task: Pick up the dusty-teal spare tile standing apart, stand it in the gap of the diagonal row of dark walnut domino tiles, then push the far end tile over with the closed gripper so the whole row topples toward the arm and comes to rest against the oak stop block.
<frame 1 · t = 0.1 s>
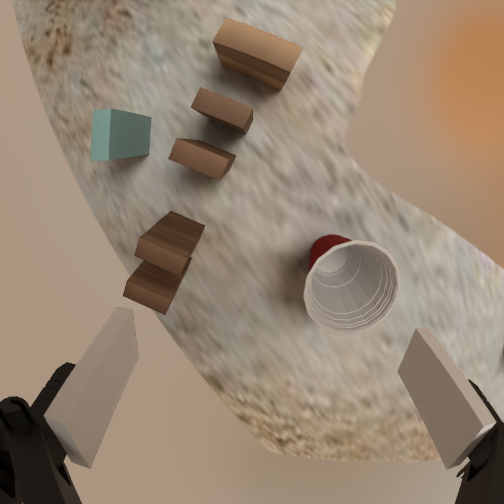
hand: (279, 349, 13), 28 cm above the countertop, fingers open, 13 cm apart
domino 4: (185, 224, 40), on the countertop
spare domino: (142, 136, 36), on the countertop
domino 2: (214, 154, 37), on the countertop
stop block: (256, 68, 33), on the countertop
plastic cup: (329, 252, 41), on the countertop
domino 1: (231, 119, 35), on the countertop
domino 5: (172, 256, 41), on the countertop
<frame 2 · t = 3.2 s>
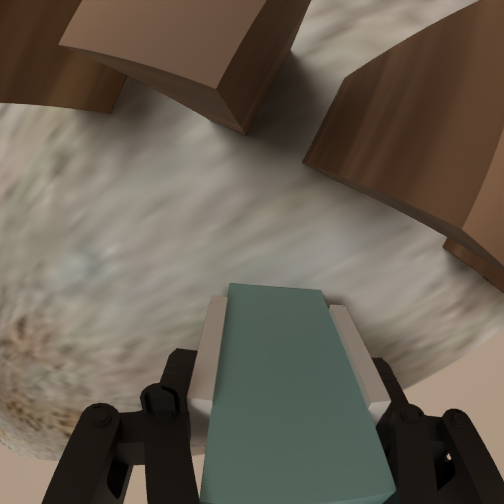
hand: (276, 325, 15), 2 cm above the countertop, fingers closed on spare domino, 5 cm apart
domino 4: (469, 219, 15), on the countertop
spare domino: (273, 303, 17), on the countertop, touching gripper
domino 2: (341, 128, 14), on the countertop
stop block: (119, 40, 12), on the countertop
domino 1: (249, 82, 13), on the countertop
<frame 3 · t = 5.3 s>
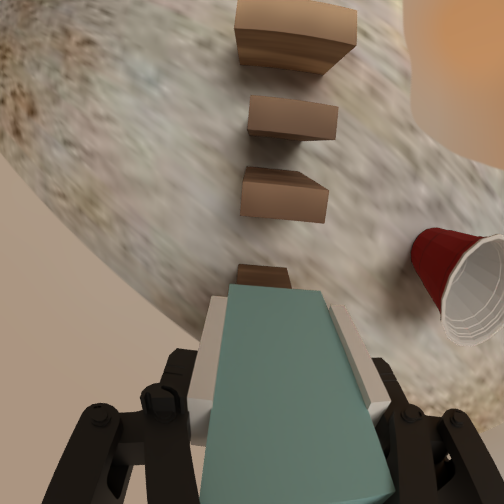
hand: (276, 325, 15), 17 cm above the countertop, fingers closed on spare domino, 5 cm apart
domino 4: (261, 274, 32), on the countertop
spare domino: (273, 303, 17), point 14 cm above the countertop, touching gripper
domino 2: (271, 179, 29), on the countertop
stop block: (283, 55, 24), on the countertop
plastic cup: (428, 248, 31), on the countertop
domino 1: (276, 127, 27), on the countertop
when the fingers open (3 cm above the countertop, at t = 7.5 s): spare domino stays where it is, on the countertop.
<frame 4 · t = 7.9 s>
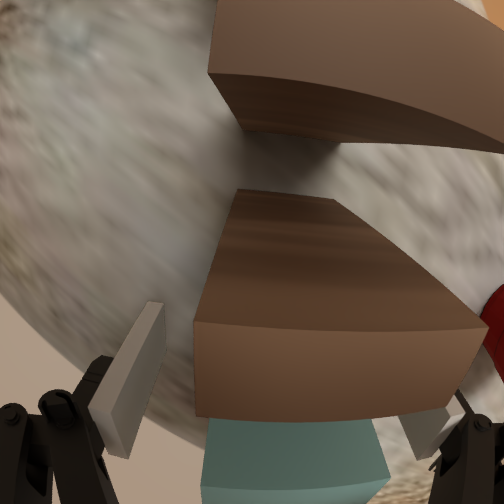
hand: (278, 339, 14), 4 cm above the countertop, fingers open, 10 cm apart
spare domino: (273, 299, 17), on the countertop
domino 2: (284, 212, 16), on the countertop
plastic cup: (499, 309, 18), on the countertop
domino 1: (295, 116, 14), on the countertop
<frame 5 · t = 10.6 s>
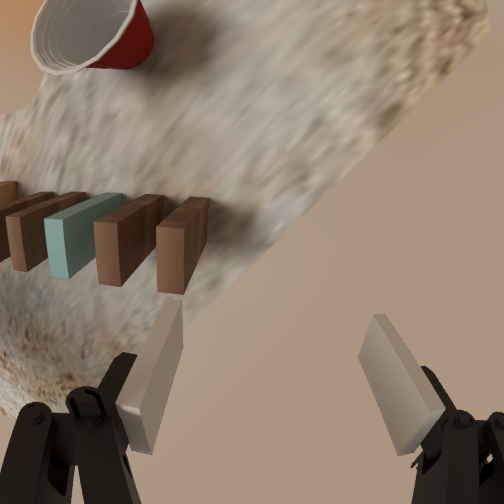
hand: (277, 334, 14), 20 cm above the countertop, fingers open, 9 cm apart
domino 4: (153, 216, 32), on the countertop
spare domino: (114, 214, 32), on the countertop
domino 2: (78, 212, 32), on the countertop
stop block: (11, 209, 31), on the countertop
plastic cup: (129, 48, 25), on the countertop
domino 1: (48, 211, 32), on the countertop
domino 5: (198, 220, 32), on the countertop
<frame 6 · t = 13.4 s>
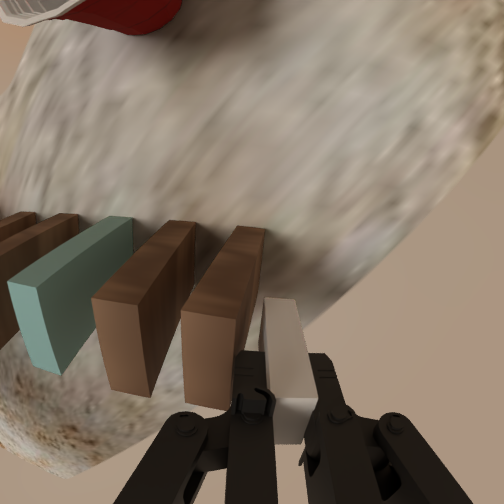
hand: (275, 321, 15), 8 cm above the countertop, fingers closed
domino 4: (181, 253, 22), on the countertop
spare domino: (121, 247, 22), on the countertop
domino 2: (70, 242, 22), on the countertop
plastic cup: (145, 8, 16), on the countertop
domino 1: (30, 238, 22), on the countertop
domino 5: (247, 260, 22), on the countertop, tilted 7°
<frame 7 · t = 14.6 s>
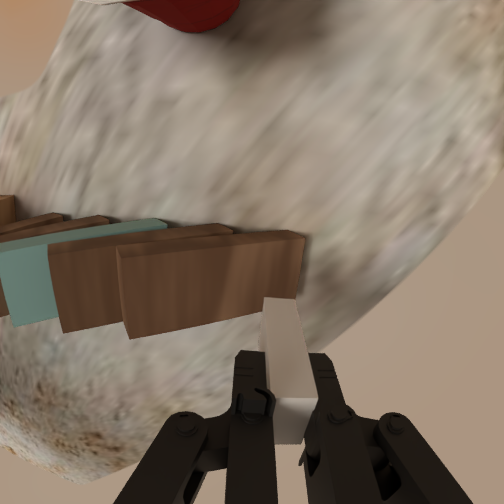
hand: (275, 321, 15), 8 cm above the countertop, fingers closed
domino 4: (222, 260, 22), point 1 cm above the countertop, tilted 53°, touching domino 5, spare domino
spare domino: (160, 253, 22), point 1 cm above the countertop, tilted 47°, touching domino 2, domino 4
domino 2: (105, 248, 22), point 1 cm above the countertop, tilted 38°, touching domino 1, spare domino
stop block: (8, 235, 22), on the countertop
plastic cup: (197, 5, 16), on the countertop
domino 1: (60, 242, 22), on the countertop, tilted 27°, touching domino 2, stop block
domino 5: (291, 266, 22), point 1 cm above the countertop, tilted 58°, touching domino 4
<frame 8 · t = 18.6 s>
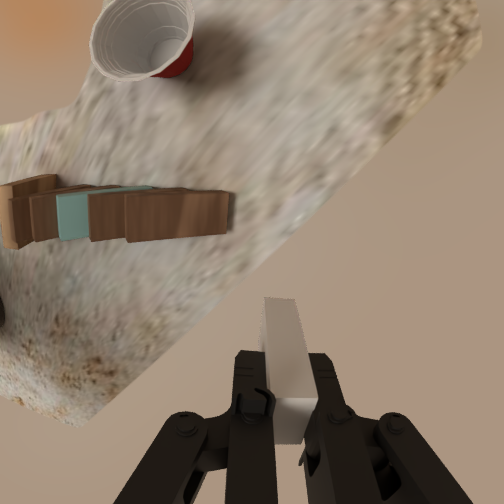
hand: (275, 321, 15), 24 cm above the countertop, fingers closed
domino 4: (184, 208, 37), point 1 cm above the countertop, tilted 53°, touching domino 5, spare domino
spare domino: (149, 205, 37), point 1 cm above the countertop, tilted 47°, touching domino 2, domino 4
domino 2: (116, 204, 37), point 1 cm above the countertop, tilted 38°, touching domino 1, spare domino
stop block: (49, 201, 37), on the countertop
plastic cup: (169, 59, 31), on the countertop
domino 1: (87, 202, 37), on the countertop, tilted 27°, touching domino 2, stop block
domino 5: (223, 211, 37), point 1 cm above the countertop, tilted 58°, touching domino 4
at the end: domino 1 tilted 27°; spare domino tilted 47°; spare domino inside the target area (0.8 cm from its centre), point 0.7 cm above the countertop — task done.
